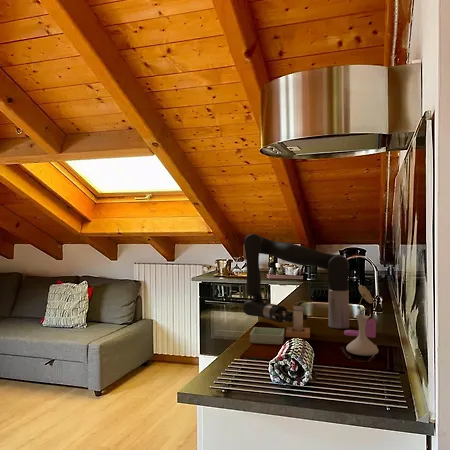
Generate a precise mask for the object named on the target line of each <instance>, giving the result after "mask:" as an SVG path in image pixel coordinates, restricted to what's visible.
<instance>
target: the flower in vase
mask: <svg viewBox="0 0 450 450" xmlns="http://www.w3.org/2000/svg"><path fill="white" fill-rule="evenodd" d="M358 291H359V293H360V295H361V298H360V301H359V303H358V304H357V306H356V308H357V309H358V310H359V312H360V314H356V315H355V318H356V319H357V323H358V331H359V335H358V336H356V338H355V339H353V340H351V341H350V342H349V343H348V344H347V345H346V347H345V348H346V349H345V350H346V351H347V352H348V353H350V354H352V355H356V356H363V357H364V356H367V357H368V356H374V355H377V354H378V353H379V348H378V346H376V344H375V343H373V342H372V340H370V339H369V337H366V333H365V331H366V323H367V321H368V320H369V319H370V316H369V315H365V314H362V312H364V311H366V310H367V309H368V308H367V307H365V308H364V309H362V310H361V304H362V300H363V299H364V300H365V301H366V302H367V303H369V304H373V303H374V301H373V300H374V297H373V296H372V294H371V291H370V290H368V288H366V286H365V285H362V284H360V285H358Z"/></svg>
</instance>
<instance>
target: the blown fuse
mask: <svg viewBox="0 0 450 450" xmlns="http://www.w3.org/2000/svg"><path fill="white" fill-rule="evenodd" d="M292 308H293V310H292V311H294V316H293V318H294V319H293V326H292V327H293V331H301V332H303V328H304V320H303V312H304V306H302V305H294V306H292Z"/></svg>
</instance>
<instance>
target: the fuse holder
mask: <svg viewBox="0 0 450 450" xmlns="http://www.w3.org/2000/svg"><path fill="white" fill-rule="evenodd" d="M285 329H286V330H285V337H286V338H301V339H302V338H303V339H304V338H305V339H309V338H311V328H310V327H303V332H301V331H293V326H287V327H286V328H285Z"/></svg>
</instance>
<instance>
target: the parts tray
mask: <svg viewBox="0 0 450 450" xmlns="http://www.w3.org/2000/svg"><path fill="white" fill-rule="evenodd" d="M285 329H286V328H277V327H260V326H259V327H257V326H256V327H255V326H254V327H253V328H252V329H251V331H250V333H249V343H250V344H264V345H280V344H281V345H282V344H284V342H285V341H284V340H285V337H286V330H285Z"/></svg>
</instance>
